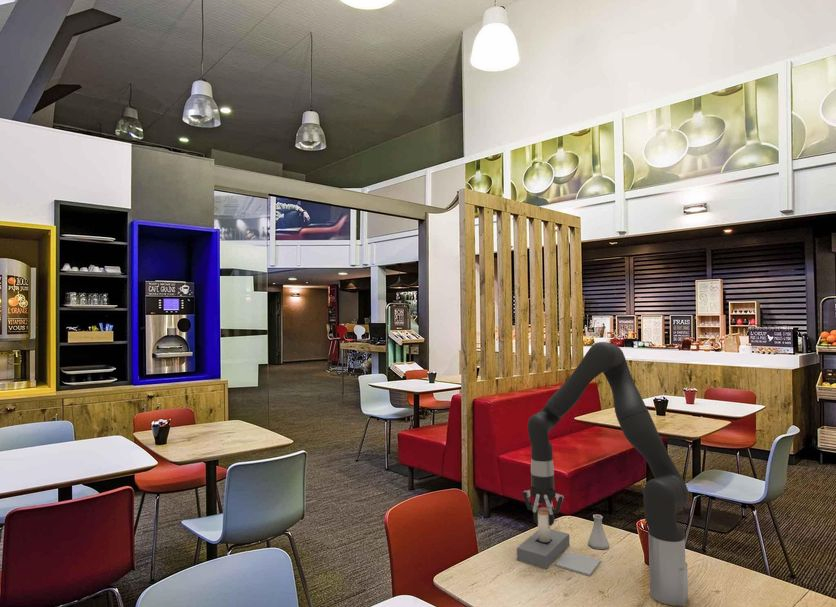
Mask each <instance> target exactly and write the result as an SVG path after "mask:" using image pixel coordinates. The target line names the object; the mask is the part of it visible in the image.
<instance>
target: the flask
mask: <svg viewBox="0 0 836 607" xmlns="http://www.w3.org/2000/svg"><path fill="white" fill-rule="evenodd" d="M603 517H604V516H602V515H601V514H593V515H592V518H593V526H592V529H591V532H590V535H589V538H588V540H587V545H588V546H589V547H591V548H592V549H596V550H606V549H610V543H609V541H608V538H607V535H606V532H605V529H604V526H603V522H602V521H603Z"/></svg>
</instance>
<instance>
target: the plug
mask: <svg viewBox="0 0 836 607" xmlns="http://www.w3.org/2000/svg"><path fill="white" fill-rule="evenodd" d="M537 515H538V524H537V531H538V540H539V541H541V542H549V541H550V540H551V539H550V529H551V526H549V510H548V508H547V507H543V506H542V507H538V509H537Z"/></svg>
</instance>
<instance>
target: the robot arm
mask: <svg viewBox="0 0 836 607" xmlns="http://www.w3.org/2000/svg"><path fill="white" fill-rule="evenodd" d="M628 365H629V364H628V362H627V359H626V357H625V354H624V352H623V350H622V349H621V348H620V346H618V345H616V344H614V343H610V342H607V341H606V342H605V341H599V342H595V343H594V344H593V345H591V346H590V347H589V348H588V351H587V352H586V353H585V355H584V356H583V358H582V359H581V361H580V362H579V363H578V365H577V367H576V368H575V370H574V371H573V372H572V373H571V374H570V376H569V377H568V378H567V379H566V380H565V382H564V383H563V384H562V385H561V386H560V387H559V388H558V389H557V390H556V391H555V392H554V394H552V396H551V397H549V399H548V400H547V401H546V404H545V405H544V407H543V408H542V409H541V410H539V411H538V412H537V413H535V414H533V415H531V416H530V417H529V418H528V420H527V434H528V438H529V442H530V446H531V447H530V455H531V456H530V457H531V458H530V459H531V460H530V461H531V462H530V479H531V480H530V481H531V482H530V483H531V484H530V486H531V487H530V489H528V490H527V489H525V490H524V491H522V497H523V500H524V503H525V505H526V508H527V510H529V511H532V518H533V519H532V520H533V522H534V523H535V524H536V525H538V515H537V509H538V508H539V505H540V504H544V505H546V508H548V510H549V526H550V527H552V525H554V523H555V515H557V514H559V512H560V510H561V507H562V504H563V501H564V498H565V495H563V494H560V493H557V491H556V490H555V470H554V458H553V456H554V454H553V445H552V444H553V443H552V442H550V440H549V432H550V431H552V430H553V429H554V428H555V426H557V424H558V423H559V422H560V420H561V419H562V418H563V416H565V415H566V414H567V413H569V411H570V410H571V409H572V408H573V407H575V405H576V404H577V402H578V401H579V400H580V398H581V397H582V395H583V394H584V391H586V388H587V387H588V385H590V384H591V382H592V381H593V380H594V379H596V378H597V377H598V376H599V375H601V374H602V373H603V375H604V376H605V378H606V381H607V383H608V385H609V387H610V389H611V392H612V398H613V399H612V400H613V407H614V414H615V417H616V419H617V422H618V424H619V427H620V429H621V431H622V434H623V436H624V437H625V439H626V440H627V441H628V442H629V443H630V445H631V446H632V447H633V448H635V450H636V451H637V452H638V453H639V454H640V455H642V457H643V458H644V460H645V461H646V463H647V464H648V465H649V468H650V470H651V473H652V474H653V477H654V478H652V479H650V480H648V481H647V482H646V483H645V485H644V487H643V496H642V497H643V511H644V512H643V513H644V519H645V523H646V525H647V529H648V562H649V563H648V564H649V565H648V566H649V568H648V570H649V571H648V572H649V594H650V597H651V598H653V599H654V600H655V601H657V602H659V603H662V604H664V605H669V606H681V607H685V606H686V604H687V601H688V598H689V588H688V587H689V584H688V583H689V581H688V578H689V577H688V563H687V562H686V539H685V538H686V537H685V534H686V533H685V528H684V526H683V525H682V524H681V523H680V522H677V516H676V511H677V510H679V509H682V508H684V507H685V506H686V505H688V503H689V502H690V501H689V499H690V493H689V490H688V487H687V486H688V485H687V484H686V482H685V481H684V479H683V477H682V475H681V473H680V471H679V470H678V469H677V466H676V465H675V463H674V462H673V460H672V458H671V457H670V456H671V455H669V453H668V450H667V448H666V446H665V445H664V442H663V440H662V437H661V436H660V434H659V432H658V429H657V426H656V424H655V422H654V420H653V418H652V416H651V414H650V412H649V409H648V408H647V406H646V403H645V402H644V400H643V398H642V395H641V394H640V391H639V389H638V388H637V386H636V384H635V382H634V380H633V377H632V374H631V372H630V369H629V366H628ZM530 497H533V499H534V503H533V504H532V500H531V498H530ZM554 498H555V500H556V506H555V508H554V505H553V499H554Z"/></svg>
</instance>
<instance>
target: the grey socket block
mask: <svg viewBox="0 0 836 607" xmlns="http://www.w3.org/2000/svg"><path fill="white" fill-rule="evenodd" d="M550 539H551V540H550V541H549V542H541V541H539V540H538V530H536V531H535V532H534V533H533V534H532V535H530V537H528V538H526V539H525V540H524V541H523V542H522V543H521V544H519V545H518V546H517V547H516V561H519V562H523V563H525V564H528V565H532V566H534V567H538V568H541V569H545V570H546V569H548V568H549V567H550V566H551V565H552V564H553V563H554V561H556V560H557V559H558V558H559V557H560V555H562V554H563V553H564V552H565V551H566V550H567V549H568V548H569V547H570V545H571V544H570V533H566V532H563V531H560V530H559V531H558V530H557V529H556V530H555V529H552V528H550Z"/></svg>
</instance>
